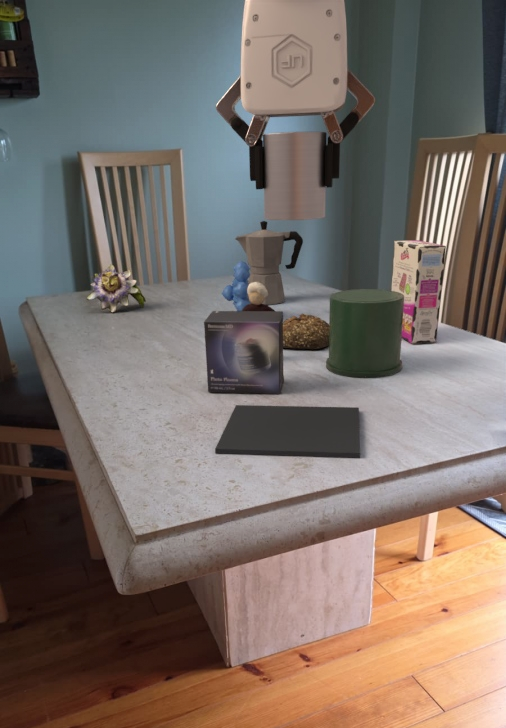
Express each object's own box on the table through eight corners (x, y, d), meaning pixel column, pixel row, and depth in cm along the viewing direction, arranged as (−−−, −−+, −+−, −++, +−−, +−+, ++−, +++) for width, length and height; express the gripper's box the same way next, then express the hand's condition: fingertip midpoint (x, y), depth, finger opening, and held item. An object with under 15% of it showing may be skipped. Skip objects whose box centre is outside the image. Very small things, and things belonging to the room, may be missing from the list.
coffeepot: (236, 306, 144) (233, 223, 136) (239, 298, 152) (236, 220, 145) (303, 304, 143) (303, 221, 135) (302, 296, 151) (302, 218, 144)
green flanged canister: (399, 356, 102) (404, 287, 98) (404, 378, 92) (410, 302, 87) (327, 355, 104) (328, 288, 99) (324, 377, 93) (325, 303, 89)
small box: (206, 394, 88) (201, 320, 84) (215, 379, 94) (210, 310, 90) (280, 395, 87) (279, 320, 82) (284, 380, 92) (283, 310, 88)
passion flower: (117, 335, 144) (80, 297, 137) (113, 317, 153) (78, 280, 145) (155, 305, 142) (120, 265, 135) (148, 289, 151) (115, 250, 144)
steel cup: (326, 215, 68) (327, 133, 65) (323, 219, 63) (325, 130, 59) (268, 216, 69) (267, 135, 66) (260, 220, 64) (258, 133, 60)
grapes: (223, 316, 134) (220, 258, 130) (254, 314, 134) (253, 257, 130) (222, 328, 124) (218, 266, 119) (255, 327, 124) (253, 265, 119)
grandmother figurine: (236, 364, 101) (232, 284, 96) (236, 357, 105) (232, 280, 99) (283, 362, 101) (282, 282, 96) (281, 355, 105) (280, 278, 99)
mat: (358, 411, 80) (358, 407, 80) (359, 457, 67) (360, 452, 67) (236, 409, 82) (235, 404, 82) (215, 453, 70) (214, 448, 69)
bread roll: (321, 353, 105) (321, 324, 103) (255, 347, 110) (254, 319, 108) (344, 335, 116) (344, 308, 114) (282, 331, 120) (282, 305, 118)
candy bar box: (438, 342, 109) (447, 245, 102) (411, 345, 108) (419, 246, 101) (412, 328, 119) (419, 238, 112) (387, 330, 118) (392, 240, 111)
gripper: (193, -27, 55) (205, 191, 63) (392, -43, 53) (380, 186, 60) (211, -6, 62) (220, 189, 69) (388, -19, 59) (378, 184, 67)
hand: (294, 186), depth 65 cm, fingers closed on steel cup, 6 cm apart
